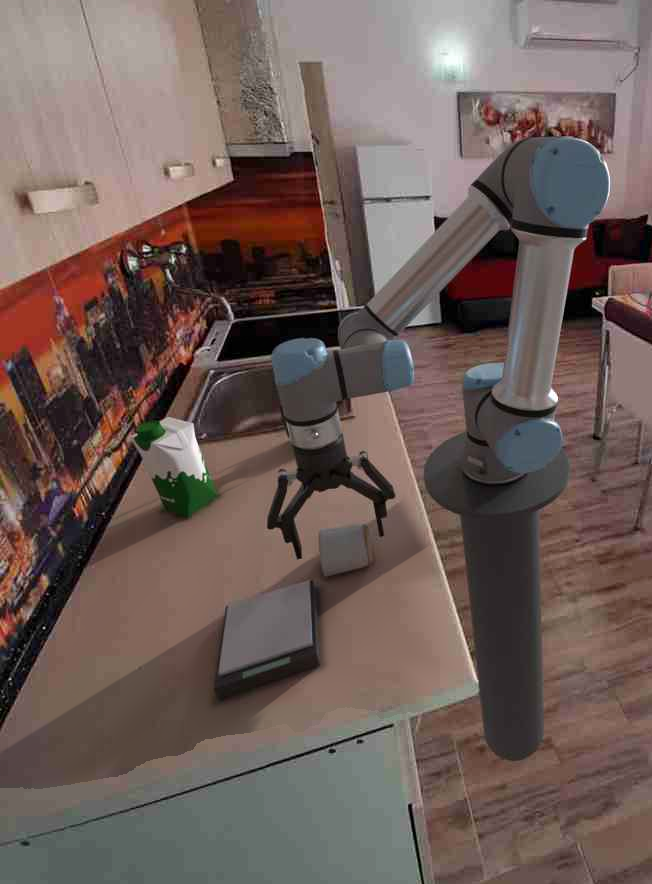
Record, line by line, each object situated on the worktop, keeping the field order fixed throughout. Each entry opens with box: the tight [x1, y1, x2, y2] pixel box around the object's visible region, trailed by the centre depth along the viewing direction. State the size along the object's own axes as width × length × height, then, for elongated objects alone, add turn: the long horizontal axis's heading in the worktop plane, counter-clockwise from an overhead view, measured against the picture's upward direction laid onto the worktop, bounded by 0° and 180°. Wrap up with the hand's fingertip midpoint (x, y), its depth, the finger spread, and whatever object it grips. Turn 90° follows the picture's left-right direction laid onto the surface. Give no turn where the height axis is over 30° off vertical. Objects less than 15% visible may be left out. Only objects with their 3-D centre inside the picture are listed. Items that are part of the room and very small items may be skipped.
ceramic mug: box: [318, 523, 373, 577], centre depth 88 cm, size 11×8×8 cm
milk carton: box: [129, 416, 219, 518], centre depth 101 cm, size 9×9×20 cm
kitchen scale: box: [213, 579, 321, 701], centre depth 75 cm, size 13×14×3 cm
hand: (341, 542), depth 88 cm, fingers open, 13 cm apart
